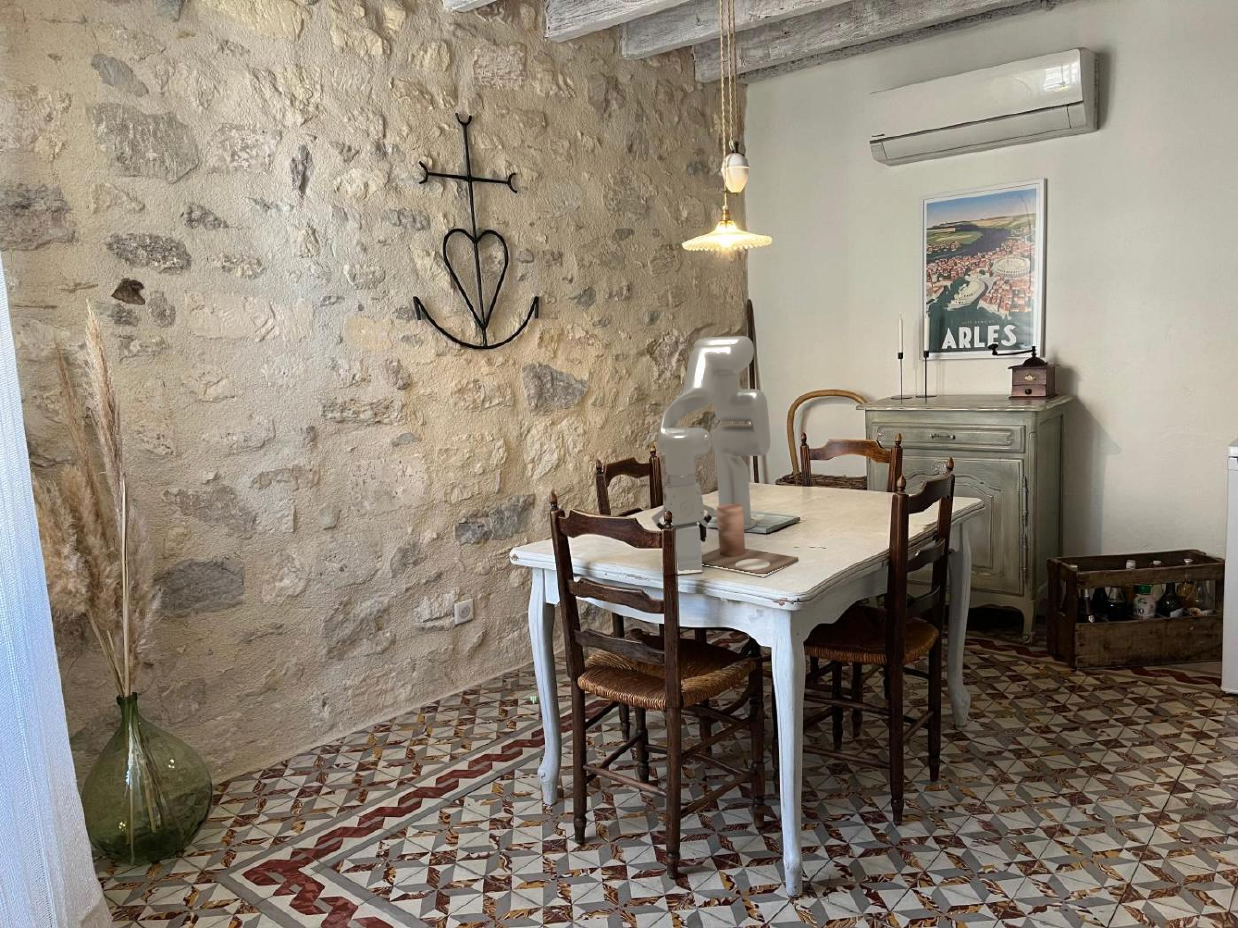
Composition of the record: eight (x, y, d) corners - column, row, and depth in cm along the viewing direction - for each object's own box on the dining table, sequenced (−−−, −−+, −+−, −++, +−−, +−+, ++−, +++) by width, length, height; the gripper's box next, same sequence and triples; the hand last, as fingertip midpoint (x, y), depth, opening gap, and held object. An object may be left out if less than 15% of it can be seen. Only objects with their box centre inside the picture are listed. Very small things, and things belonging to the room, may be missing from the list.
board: (690, 563, 256) (687, 513, 253) (726, 548, 267) (723, 500, 264) (763, 577, 239) (761, 524, 237) (798, 560, 250) (796, 510, 248)
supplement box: (699, 565, 254) (696, 520, 251) (703, 573, 246) (700, 527, 244) (672, 567, 254) (669, 522, 251) (675, 576, 246) (671, 529, 244)
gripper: (655, 486, 239) (659, 551, 242) (717, 478, 244) (721, 541, 247) (645, 481, 246) (649, 544, 249) (706, 473, 251) (709, 535, 254)
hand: (685, 543), depth 248 cm, fingers open, 9 cm apart
